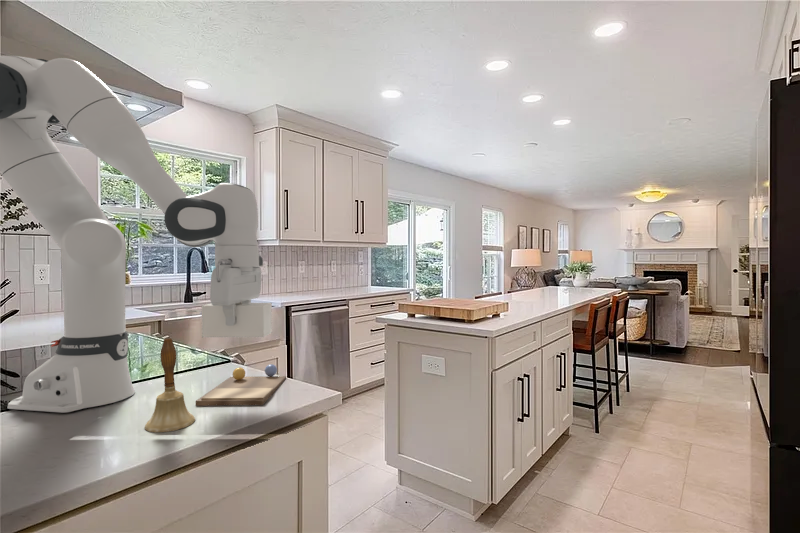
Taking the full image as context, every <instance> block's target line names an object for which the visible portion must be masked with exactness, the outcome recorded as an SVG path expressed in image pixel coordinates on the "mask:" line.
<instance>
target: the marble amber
mask: <svg viewBox="0 0 800 533" xmlns="http://www.w3.org/2000/svg"><path fill="white" fill-rule="evenodd" d="M246 373H247V372H246V370H245V368H243V367H237V368H235V369H233V372H232V377H234V379H236V380H241V379H243V378H244V377H246Z"/></svg>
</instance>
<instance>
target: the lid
mask: <svg viewBox="0 0 800 533" xmlns="http://www.w3.org/2000/svg"><path fill="white" fill-rule="evenodd" d="M272 307H273V306H272V302H251V303H242V302H239V303H236V304H235V309H234V311H235V316H237V320H236V321H237V323H236V324H235V325H233V326H227V325H226V317H225V315H224V312H223V306H213V305H212V304H211V303H208V304H204V305H201V338H265V337H267V336H268V335H270V334H271V333H273V327H272V326H273V322H272V321H273V318H272V317H273V308H272Z"/></svg>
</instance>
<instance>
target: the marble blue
mask: <svg viewBox="0 0 800 533" xmlns="http://www.w3.org/2000/svg"><path fill="white" fill-rule="evenodd" d="M277 371H278V369H277V366H276V365H275V364H271V363H270V364H268V365H266V366H265V368H264V374H265V375H266V376H275V375H276V374H277V373H278V372H277Z"/></svg>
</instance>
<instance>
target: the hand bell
mask: <svg viewBox="0 0 800 533" xmlns="http://www.w3.org/2000/svg"><path fill="white" fill-rule="evenodd" d="M162 342H163V343H162V346H161V349H160V364H161V367H162V369H163V370H162V371H163V373H164V379H163V380H164V384H163V385H164V391H163V392H162V393H160V394H159V395H157V397H156V399H155V407H154V411H153V413H152V416H151V417H150V419H149V420H148V421H147V422H146V423H145V425H144V430H145V431H147V432H150V433H169V432H170V433H171V432H175V431H178V430H181V429H185V428H187V427H189V426H191V425H192V424H193V423H195V421H196V417H195V415H193V414H192V413H191V412H190V411H189V410H188V407H187V406H186V402H185V398H184V397H185V396H184V393H183V392H182V391H178V390H176V384H175V375H174V374H175V368H176V363H177V350H176V346H175V344H174V341H173V338H172V337H167V338H164V339H163V341H162Z"/></svg>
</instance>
